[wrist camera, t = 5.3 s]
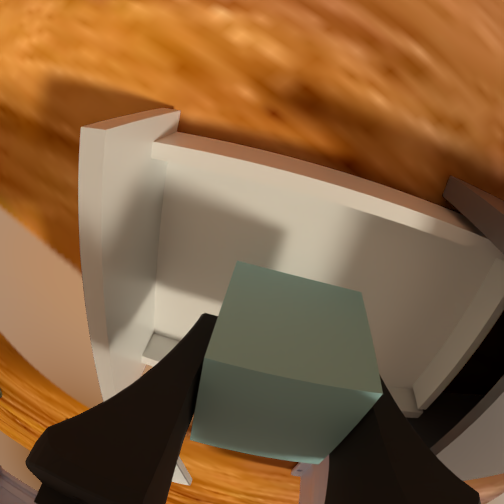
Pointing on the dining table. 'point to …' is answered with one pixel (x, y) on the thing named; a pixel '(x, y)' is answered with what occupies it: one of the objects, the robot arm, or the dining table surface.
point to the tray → (269, 251)
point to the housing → (469, 405)
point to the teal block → (285, 367)
